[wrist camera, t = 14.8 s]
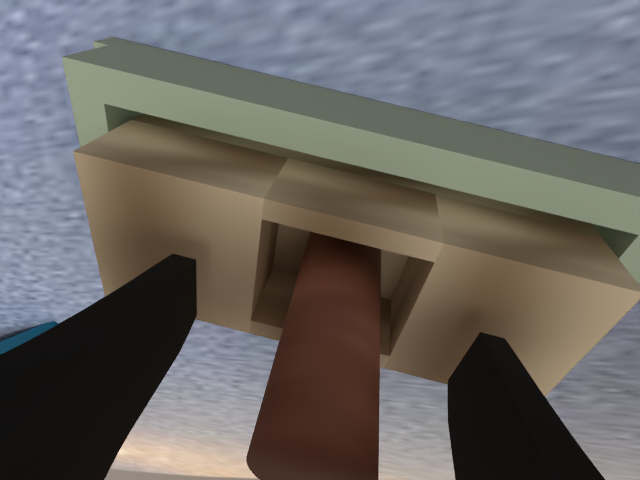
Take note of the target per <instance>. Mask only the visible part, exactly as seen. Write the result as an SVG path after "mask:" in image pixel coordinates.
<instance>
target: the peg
mask: <svg viewBox="0 0 640 480" xmlns="http://www.w3.org/2000/svg"><path fill="white" fill-rule="evenodd" d="M380 304H381V249H379V248H375V247H371V246H367V245H363V244H359V243H355V242H351V241H347V240H343V239H339V238H335V237H331V236H327V235H323V234H319V233H315V232H310V235H309V239H308V242H307V246H306V249H305V253H304V256H303V260H302V263H301V267H300V270H299V274H298V277H297V281H296V284H295V288H294V291H293V295H292V299H291V302H290V306H289V309H288V313H287V316H286V320H285V323H284V327H283V330H282V334H281V337H280V341H279V344H278V348H277V351H276V355H275V359H274V362H273V366H272V369H271V373H270V376H269V380H268V383H267V387H266V390H265V394H264V397H263V401H262V404H261V408H260V411H259V415H258V419H257V422H256V426H255V429H254V433H253V436H252V440H251V443H250V447H249V450H248V454H247V464H248V467H249V469H250V470H251V471H252V473H253V474H254V475H255V476H256V477H257V478H259V479H260V480H378V457H379V380H380Z"/></svg>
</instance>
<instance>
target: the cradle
mask: <svg viewBox="0 0 640 480" xmlns="http://www.w3.org/2000/svg"><path fill="white" fill-rule="evenodd" d="M93 44H94V49H92V50H88V51H83V52H79V53H75V54H71V55H67V56H63V57H62V60H63V65H64V70H65V75H66V79H67V84H68V89H69V94H70V99H71V104H72V109H73V114H74V119H75V123H76V128H77V133H78V138H79V143H80V147H82V146H84V145H86V144H88V143H89V142H91V141H93V140H95V139H97V138H99V137H100V136H102V135H104V134H106V133H108V132H110V131H112V130H113V129H115V128H117V127H119V126H121V125H123V124H124V123H126V122H128V121H130V120H132V119H134V118H135V117H137V116H139V115H141V114H143V113H144V114H148V115H152V116H156V117H160V118H164V119H168V120H173V121H177V122H181V123H185V124H189V125H193V126H197V127H201V128H205V129H209V130H213V131H217V132H221V133H225V134H230V135H234V136H238V137H242V138H246V139H250V140H254V141H258V142H262V143H266V144H270V145H274V146H278V147H282V148H286V149H291V150H295V151H299V152H303V153H307V154H311V155H315V156H319V157H323V158H327V159H331V160H335V161H339V162H343V163H348V164H352V165H356V166H360V167H364V168H368V169H372V170H376V171H380V172H384V173H388V174H392V175H396V176H400V177H405V178H409V179H413V180H417V181H421V182H425V183H429V184H433V185H437V186H441V187H445V188H449V189H453V190H457V191H461V192H466V193H470V194H474V195H478V196H482V197H486V198H490V199H494V200H498V201H502V202H506V203H510V204H514V205H518V206H523V207H527V208H531V209H535V210H539V211H543V212H547V213H551V214H555V215H559V216H563V217H567V218H571V219H575V220H580V221H584V222H588V223H591V224H592V225H593V227H594V228H595V229H596V231H597V232H598V233H599V234H600V236H601V237H602V238H603V239H604V241H605V242H606V243H607V245H608V246H609V247H610V248H611V250H612V251H613V252H614V254H615V255H616V256H617V257H618V259H619V260H620V261H621V263H622V264H623V265H624V266H625V268H626V269H627V270H628V271H629V273H630V274H631V275H632V277H633V278H634V279H635V280H636V282H637V283H638V284H639V283H640V164H637V163H633V162H629V161H625V160H621V159H617V158H612V157H608V156H604V155H600V154H596V153H592V152H588V151H583V150H579V149H575V148H571V147H567V146H563V145H558V144H554V143H550V142H546V141H542V140H538V139H534V138H529V137H525V136H521V135H517V134H513V133H509V132H504V131H500V130H496V129H492V128H488V127H484V126H480V125H475V124H471V123H467V122H463V121H459V120H455V119H450V118H446V117H442V116H438V115H434V114H430V113H425V112H421V111H417V110H413V109H409V108H405V107H401V106H396V105H392V104H388V103H384V102H380V101H376V100H371V99H367V98H363V97H359V96H355V95H351V94H347V93H342V92H338V91H334V90H330V89H326V88H322V87H317V86H313V85H309V84H305V83H301V82H297V81H293V80H288V79H284V78H280V77H276V76H272V75H268V74H263V73H259V72H255V71H251V70H247V69H243V68H238V67H234V66H230V65H226V64H222V63H218V62H214V61H209V60H205V59H201V58H197V57H193V56H189V55H184V54H180V53H176V52H172V51H168V50H164V49H160V48H155V47H151V46H147V45H143V44H139V43H135V42H130V41H126V40H122V39H118V38H114V37H112V38H107V39H103V40H98V41H94V42H93Z"/></svg>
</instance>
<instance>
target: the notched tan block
mask: <svg viewBox="0 0 640 480" xmlns="http://www.w3.org/2000/svg"><path fill="white" fill-rule="evenodd" d="M73 153H74V157H75V162H76V167H77V171H78V176H79V180H80V185H81V189H82V194H83V198H84V203H85V207H86V212H87V217H88V221H89V226H90V230H91V235H92V239H93V244H94V248H95V253H96V257H97V262H98V267H99V271H100V276H101V280H102V285H103V289H104V294H105V296H107V295H108V294H110V293H112V292H113V291H115V290H117V289H118V288H120V287H121V286H123V285H124V284H126V283H128V282H129V281H131V280H132V279H134V278H135V277H137V276H138V275H140V274H141V273H143V272H145V271H146V270H148V269H149V268H151V267H152V266H154V265H155V264H157V263H158V262H160V261H161V260H163V259H165V258H166V257H168V256H169V255H171V254H177V255H181V256H184V257H188V258H192V259H196V281H197V316H196V318H195V319H197V320H201V321H205V322H208V323H212V324H216V325H220V326H224V327H228V328H232V329H236V330H239V331H243V332H247V333H251V334H255V335H259V336H263V337H266V338H270V339H274V340H278V341H280V337H281V334H282V330H283V327H284V323H285V320H286V316H287V313H288V309H289V306H290V302H291V299H292V295H293V291H294V288H295V284H296V281H297V277H298V274H299V270H300V267H301V263H302V260H303V256H304V253H305V249H306V246H307V242H308V239H309V235H310V232H315V233H319V234H323V235H327V236H331V237H335V238H339V239H343V240H347V241H351V242H355V243H359V244H363V245H367V246H371V247H375V248H379V249H381V304H380V367H382V368H386V369H390V370H394V371H398V372H402V373H406V374H410V375H413V376H417V377H421V378H425V379H429V380H433V381H437V382H440V383H444V384H448V379H449V378H450V376H451V375H452V373H453V372H454V370H455V369H456V367H457V366H458V364H459V363H460V361H461V360H462V358H463V357H464V355H465V354H466V352H467V351H468V349H469V348H470V346H471V345H472V343H473V342H474V340H475V339H476V337H477V336H478V334H479V333H480V332H482V333H486V334H490V335H494V336H498V337H502V338H505V339H506V341H507V342H508V344H509V345H510V346H511V348H512V349H513V351H514V352H515V354H516V355H517V356H518V358H519V359H520V361H521V362H522V364H523V365H524V367H525V368H526V370H527V371H528V373H529V374H530V376H531V377H532V379H533V380H534V382H535V383H536V385H537V386H538V388H539V389H540V391H541V392H542V393H543V395H544V396H546V395H547V394H548V393H549V392H550V391H551V390H552V389H553V388H554V387H555V386H556V385H557V384H558V383H559V382H560V381H561V380H562V379H563V378H564V377H565V376H566V375H567V374H568V373H569V372H570V371H571V370H572V369H573V367H574V366H575V365H576V364H577V363H578V362H579V361H580V360H581V359H582V358H583V357H584V356H585V355H586V354H587V353H588V352H589V351H590V350H591V349H592V348H593V347H594V346H595V345H596V344H597V343H598V342H599V341H600V340H601V339H602V338H603V337H604V336H605V335H606V334H607V333H608V332H609V331H610V330H611V329H612V327H613V326H614V325H615V324H616V323H617V322H618V321H619V320H620V319H621V318H622V317H623V316H624V315H625V314H626V313H627V312H628V311H629V310H630V309H631V308H632V307H633V306H634V305H635V304H636V303H637V302H638V301H639V300H640V286H639V284H638V283H637V282H636V280H635V279H634V278H633V277H632V275H631V274H630V273H629V271H628V270H627V269H626V268H625V266H624V265H623V264H622V263H621V261H620V260H619V259H618V257H617V256H616V255H615V254H614V252H613V251H612V250H611V248H610V247H609V246H608V245H607V243H606V242H605V241H604V239H603V238H602V237H601V236H600V234H599V233H598V232H597V231H596V229H595V228H594V227H593V225H592V224H591V223H588V222H584V221H580V220H575V219H571V218H567V217H563V216H559V215H555V214H551V213H547V212H543V211H539V210H535V209H531V208H527V207H523V206H518V205H514V204H510V203H506V202H502V201H498V200H494V199H490V198H486V197H482V196H478V195H474V194H470V193H466V192H461V191H457V190H453V189H449V188H445V187H441V186H437V185H433V184H429V183H425V182H421V181H417V180H413V179H409V178H405V177H400V176H396V175H392V174H388V173H384V172H380V171H376V170H372V169H368V168H364V167H360V166H356V165H352V164H348V163H343V162H339V161H335V160H331V159H327V158H323V157H319V156H315V155H311V154H307V153H303V152H299V151H295V150H291V149H286V148H282V147H278V146H274V145H270V144H266V143H262V142H258V141H254V140H250V139H246V138H242V137H238V136H234V135H230V134H225V133H221V132H217V131H213V130H209V129H205V128H201V127H197V126H193V125H189V124H185V123H181V122H177V121H173V120H168V119H164V118H160V117H156V116H152V115H148V114H144V113H143V114H141V115H139V116H137V117H135V118H134V119H132V120H130V121H128V122H126V123H124V124H123V125H121V126H119V127H117V128H115V129H113V130H112V131H110V132H108V133H106V134H104V135H102V136H100V137H99V138H97V139H95V140H93V141H91V142H89V143H88V144H86V145H84V146H82V147H80V148H78V149H77V150H75V151H73Z"/></svg>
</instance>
